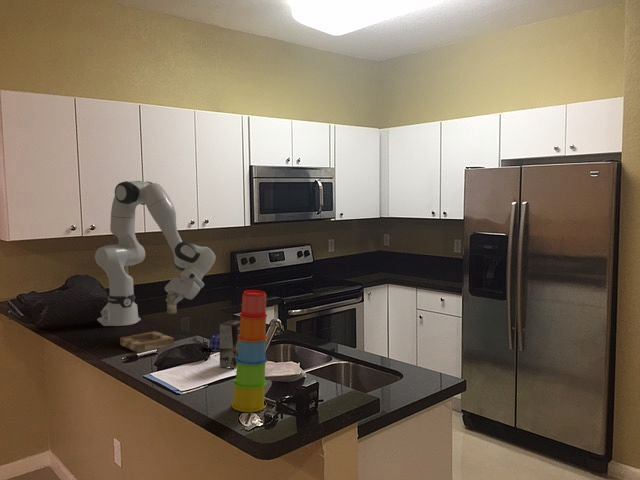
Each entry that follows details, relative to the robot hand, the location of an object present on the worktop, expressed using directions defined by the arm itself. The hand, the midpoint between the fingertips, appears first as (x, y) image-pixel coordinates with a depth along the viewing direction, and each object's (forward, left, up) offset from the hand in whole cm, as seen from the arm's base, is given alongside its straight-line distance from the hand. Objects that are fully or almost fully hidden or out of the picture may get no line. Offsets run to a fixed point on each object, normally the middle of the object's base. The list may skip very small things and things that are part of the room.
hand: (170, 302), depth 234 cm
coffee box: (+49, -2, -16) cm, 52 cm away
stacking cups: (+85, -22, -16) cm, 90 cm away
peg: (0, +1, -5) cm, 5 cm away
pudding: (+26, +7, -17) cm, 32 cm away
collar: (+2, -12, -16) cm, 20 cm away
